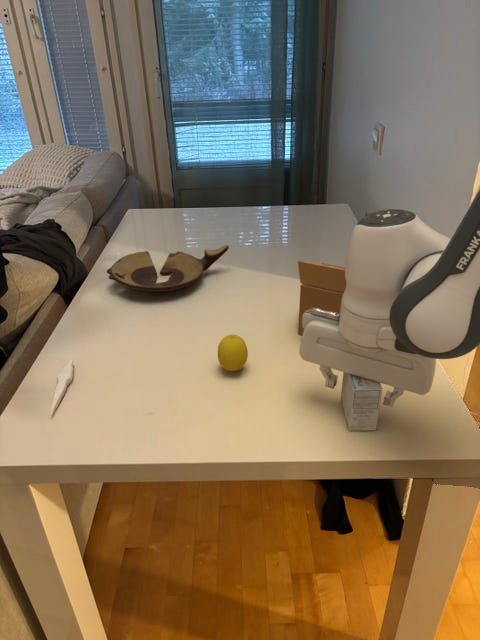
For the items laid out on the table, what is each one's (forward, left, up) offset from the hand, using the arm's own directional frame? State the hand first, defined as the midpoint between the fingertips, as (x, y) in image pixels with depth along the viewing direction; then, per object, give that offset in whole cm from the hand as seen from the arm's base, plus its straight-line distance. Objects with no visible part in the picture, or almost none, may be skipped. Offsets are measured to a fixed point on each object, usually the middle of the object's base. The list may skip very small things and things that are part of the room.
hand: (358, 394), depth 75 cm
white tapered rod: (+48, +18, -4) cm, 52 cm away
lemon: (+24, -1, -4) cm, 24 cm away
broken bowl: (+56, -25, -4) cm, 62 cm away
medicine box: (0, 0, -4) cm, 4 cm away
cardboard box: (+11, -24, -4) cm, 27 cm away
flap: (+11, -17, +11) cm, 23 cm away
